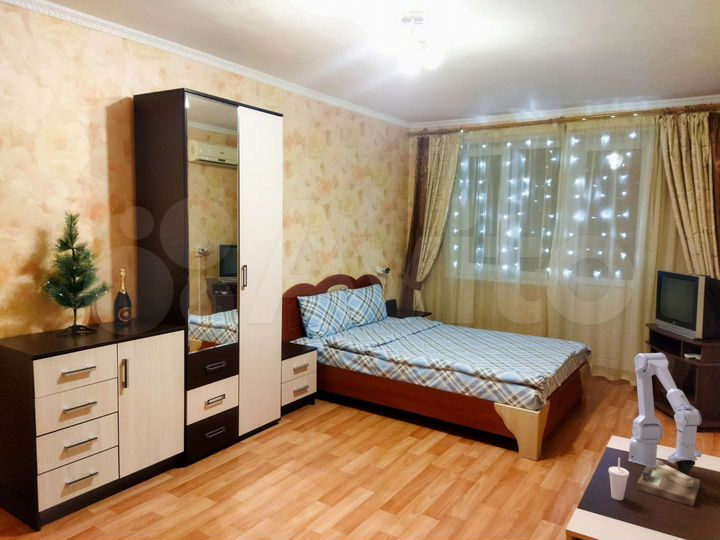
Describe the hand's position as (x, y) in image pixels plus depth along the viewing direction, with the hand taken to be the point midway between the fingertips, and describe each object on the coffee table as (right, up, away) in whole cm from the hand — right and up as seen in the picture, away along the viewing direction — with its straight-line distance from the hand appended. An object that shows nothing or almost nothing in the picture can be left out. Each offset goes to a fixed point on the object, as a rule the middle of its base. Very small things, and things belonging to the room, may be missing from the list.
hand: (683, 478), depth 184 cm
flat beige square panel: (-5, -3, 0) cm, 6 cm away
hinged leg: (-3, -1, +1) cm, 3 cm away
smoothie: (-27, -4, -7) cm, 28 cm away
